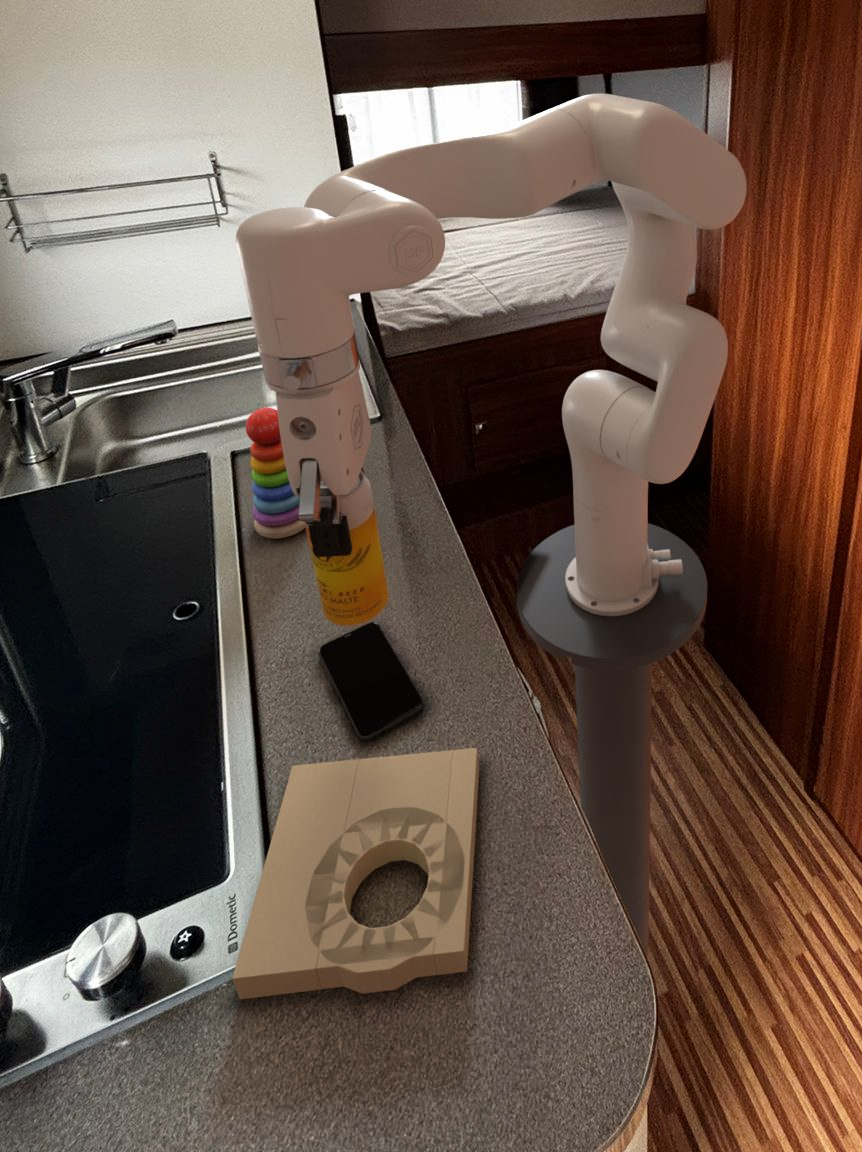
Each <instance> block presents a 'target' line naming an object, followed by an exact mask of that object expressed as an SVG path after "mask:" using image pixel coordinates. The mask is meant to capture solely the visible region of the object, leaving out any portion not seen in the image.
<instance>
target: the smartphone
mask: <svg viewBox="0 0 862 1152" xmlns="http://www.w3.org/2000/svg"><path fill="white" fill-rule="evenodd" d="M318 656H319V658H320V661H321V663H322V664H323V667H324V670H325V672H326V674H327V676H328V678H329V681H330V682H331V683H332V686H333V688H334V690H335V692H336V694H337V696H338V698H339V700H340V702H341V704H342V706H343V709H344V711H345V712H346V714H347V716H348V718H349V721H350V722H351V725H352V727H353V728H354V731H355V733H356V736H357V737H358V739H360V740H362V741H368V740H371V739H374V738H375V737H377V736H378V735H380V734H382V733H385V732H386V731H388V730H389V729H391V728H393V727H395V726H397V725H398V724H400V723H402V722H404V721H405V720H407V719H409V718H411V717H413V716H415V715H416V714H418V713H420V712H421V711H422V710H423V708H424V707H425V701H424V698H423V696H422V695H421V693H420V691H419V690H418V688H417V686H416V685H415V683H414V680H413V679H412V677H411V676H410V674H409V672H408V671H407V669H406V667H405V666H404V664H403V662H402V661H401V659H400V657H399V656H398V655H397V653H396V651H395V649H394V647H393V645H392V644H391V642H390V640H389V638H388V637H387V636H386V634H385V632H384V631H383V629H382V627H381V626H380V624H379V623H378V622H375V621H371V622H369V623H367V624H365V625H362V626H359V627H356V628H355V629H352V630H351V631H348V632H347V633H344V634H342V635H340V636H338V637H336V638H335V639H332V640H330V641H328V642H326V643H324V644H322V645H321V646H320V647H319V649H318Z"/></svg>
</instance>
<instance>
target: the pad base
mask: <svg viewBox="0 0 862 1152" xmlns="http://www.w3.org/2000/svg"><path fill="white" fill-rule="evenodd" d="M479 781H480V759H479V752H478V747H471V748H460V749H459V748H458V749H452V750H440V751H430V752H419V753H410V754H400V755H389V756H379V757H369V758H368V757H367V758H359V759H357V758H356V759H348V760H346V759H345V760H336V761H328V762H317V763H307V764H305V763H304V764H296V765H292V767H291V770H290V774H289V777H288V781H287V784H286V787H285V792H284V795H283V799H282V801H281V804H280V808H279V811H278V816H277V819H276V822H275V826H274V829H273V833H272V836H271V840H270V844H269V848H268V850H267V854H266V858H265V862H264V865H263V869H262V873H261V876H260V879H259V882H258V886H257V890H256V893H255V896H254V900H253V903H252V907H251V911H250V913H249V918H248V920H247V925H246V928H245V932H244V936H243V939H242V942H241V947H240V949H239V950H240V951H239V953H238V956H237V960H236V964H235V966H234V971H233V974H232V977H231V980H232V982H233V985H234V988H235V990H236V993H237V996H238V998H239V1000H245V999H246V1000H247V999H255V998H263V997H271V996H272V997H273V996H280V995H286V994H287V995H288V994H297V993H303V992H311V991H320V990H326V989H327V990H328V989H334V988H335V989H336V988H347V989H348V990H351V991H354V992H357V993H359V994H362V995H364V994H371V993H378V992H379V993H380V992H387V991H394V990H398V989H399V988H401V987H402V986H404V985H406V984H408V983H409V982H411V981H413V980H415V979H418V978H424V977H433V976H442V975H451V974H458V973H466V972H468V961H469V945H470V930H471V915H472V914H471V913H472V897H473V882H474V881H473V878H474V866H475V865H474V864H475V850H476V849H475V848H476V847H475V846H476V833H477V832H476V830H477V815H478V814H477V813H478V800H479V799H478V798H479ZM399 861H407V862H410V863H413V864H416V865H418V866H419V867H420V868H421V869H422V870H423V871H424V872H425V873H426V874H427V876H428V877H427V886H426V888H425V890H424V892H423V894H422V896H421V898H420V901H419V902H418V904H417V905H416V906H415V907H414V908H413V909H412V910H411V911H410V912H409V913H408V914H407V915H406V916H405V917H403V918H402V919H400V920H398V921H396V922H394V923H392V924H391V925H387V926H378V927H369V926H366V925H363V924H361V923H358V922H357V921H356V920H355V919H354V917H353V916H352V915H351V914H350V912H351V906H352V901H353V898H354V896H355V894H356V892H357V890H358V888H359V887H360V886H361V883H362V882H363V881H364V880H365V879H366V878H367V877H368V876H369V875H370V874H371V873H372V872H373V871H374V870H376V869H379V868H380V867H382V866H384V865H387V864H389V863H390V862H391V863H392V862H399Z"/></svg>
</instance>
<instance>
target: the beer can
mask: <svg viewBox="0 0 862 1152" xmlns="http://www.w3.org/2000/svg"><path fill="white" fill-rule="evenodd" d="M320 486H327V485H326V484H325V483H324V481H320ZM319 503H320V506H322V508H323V507H327V508H330V509H332V507H331V496H319ZM341 505H342V515H344V516H346V515H347V521H348V526H349V532H350V537H351V543H352V552H351V554H350V555H347V556H330V557H316V556H315V555H314V551H313V546H312V541H311V537H310V532H309V527H308V526H307V525H306V523H305V532H306V536H307V541H308V545H309V550H310V555H311V559H312V565H313V569H314V574H315V579H316V584H317V588H318V593H319V597H320V602H321V606H322V607H321V608H322V612H323V614H324V616H325V618H326V620H328V621H329V622H330V623H332V624H334V625H336V626H339V627H341V628H347V629H348V628H350V629H351V628H359V627H361V626H363V625H366V624H368V623H371V622H373V620H375V619H376V618H377V617H378V616H379V615H380V614H381V613H382V611H383V610H384V608H385V607H386V605H387V603H388V600H389V588H388V583H387V576H386V571H385V565H384V558H383V553H382V547H381V540H380V534H379V528H378V522H377V515H376V509H375V505H374V498H373V491H372V486H371V482H370V480H369V479H368V478H367V477H366V476H365V473H364V474H363V472H362V471H360V474H359V477H358V479H357V482H356V484H355V486H354V488H353V489H352V491H351V492H350V493H349V494H347V495H343V494H342V495H341Z"/></svg>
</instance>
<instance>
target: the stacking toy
mask: <svg viewBox="0 0 862 1152" xmlns="http://www.w3.org/2000/svg"><path fill="white" fill-rule="evenodd" d="M245 432H246V435H247V438H249V440H251V442H252V444H251V445H250V454H251V456H252V457H251V458H250V467H251V469H252V471H251V478H252V481H253V482H252V493H253V497H252V498H253V499H252V500H253V501H252V502H253V507H252V517H253V518H254V520H253V527H254V530H255V531H256V533H257V534H258V535H260V536H261V537H264V538H267V539H275V540H276V539H284V538H288V537H291V536H294V535H296V534H298V533H300V532H302V531H303V530H305V529H306V527H305V522H303V521H300V520H299V503H300V497H297V496H296V495H295V494H294V493H293V491H292V489H291V486H290V483H289V479H288V475H287V470H286V466H285V460H284V455H283V449H282V443H281V436H280V428H279V420H278V412H277V408H273V407H261V408H258V409H256V410H254V411H253V412H252V413H251V414H250V415H249V416H248V418H247V420H246V423H245Z"/></svg>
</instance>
